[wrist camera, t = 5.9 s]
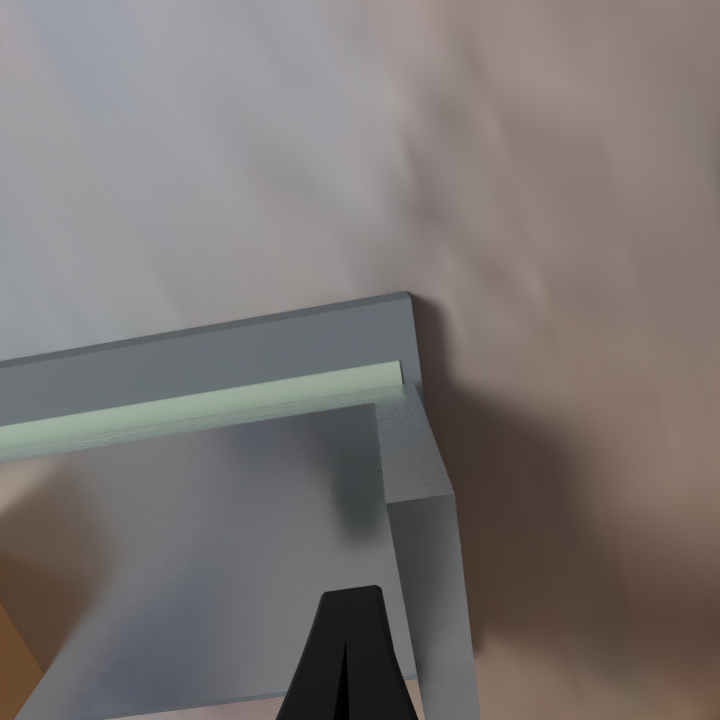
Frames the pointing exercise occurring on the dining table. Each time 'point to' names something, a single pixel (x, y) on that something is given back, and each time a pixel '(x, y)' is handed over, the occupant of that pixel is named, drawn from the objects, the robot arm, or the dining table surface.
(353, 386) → the track base
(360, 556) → the sled
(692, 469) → the dining table surface
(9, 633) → the block
